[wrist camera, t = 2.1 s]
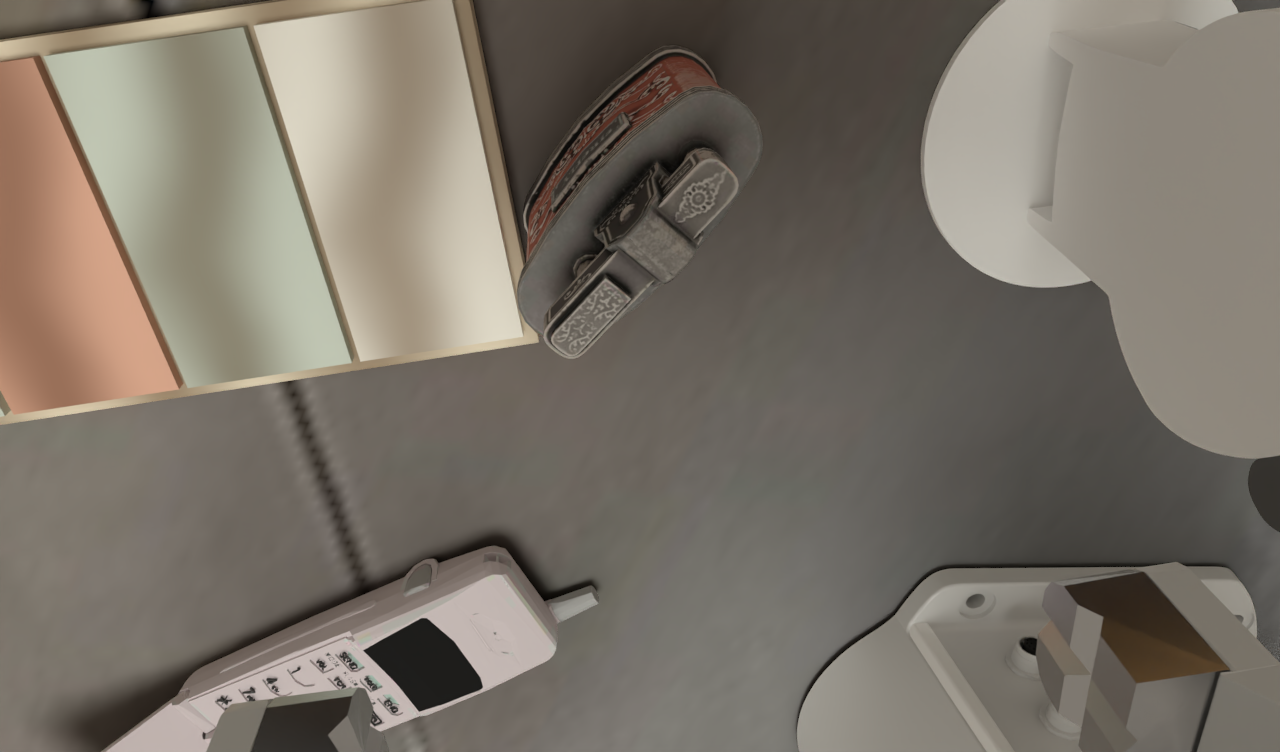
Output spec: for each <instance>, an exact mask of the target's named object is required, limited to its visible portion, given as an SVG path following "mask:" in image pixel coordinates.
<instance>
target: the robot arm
mask: <svg viewBox="0 0 1280 752" xmlns="http://www.w3.org/2000/svg"><path fill="white" fill-rule="evenodd" d="M372 713H373V705H372V703H371V701H370V698H369V696H368V694H367V691H366V689H365V688H360V687H356V688H348V689H340V690H332V691H324V692H316V693H308V694H300V695H292V696H284V697H276V698H274V699H266V700H258V701H250V702H243V703H235V704H231V705H230V706H229V707H228V708H227V709H226V710H225V711H224V713H223V714H222V715H221V716H220V719H219V721H218V724H217V726H216V729H215V731H214V733H213V736H212V738H211V741H210V743H209V746H208V748H207V751H206V752H389V748H388V745H387V742H386V740H385V737H384V734H383V733H381V732H380V731H378V730H376V729H375V728H373V727H372V726H370V723H371V718H372ZM797 743H798V748H799V752H1280V662H1279V661H1278V660H1277V659H1276V658H1275V657H1274V656H1273V655H1272V654H1271V653H1270V652H1269V651H1268V650H1267V649H1266V648H1265V647H1264V646H1263V645H1262V644H1261V643H1260V642H1259V641H1258V640H1257V620H1256V612H1255V609H1254V605H1253V602H1252V599H1251V597H1250V595H1249V593H1248V592H1247V590H1246V588H1245V587H1244V585H1243V584H1242V583H1241V581H1240V580H1239V579H1238V578H1237V576H1236V575H1235V574H1234V573H1233V571H1231V570H1230V569H1228V568H1225V567H1186V566H1184V565H1182V564H1180V563H1178V562H1172V563H1166V564H1159V565H1153V566H1147V567H1070V568H953V569H945V570H941V571H938V572H936V573H934V574H932V575H930V576H929V577H927V578H926V579H925V580H924V581H923V582H922V583H921V584H920V585H919V586H918V587H917V588H916V589H915V590H914V591H913V592H912V593H911V595H910V596H909V597H908V598H907V600H906V601H905V602H904V604H903V605H902V606H901V608H900V609H899V610H898V612H897V613H896V614H895V615H894V616H893V617H892V618H891V619H890V620H888V621H887V622H886V623H885V624H883V625H882V626H880V627H879V628H878V629H876V630H874V631H873V632H871V633H870V634H868V635H867V636H865V637H864V638H862V639H861V640H859V641H858V642H856V643H855V644H854V645H852V646H851V647H850V648H848V649H847V650H846V651H845V652H843V653H842V654H841V655H840V656H839V657H838V658H837V659H836V660H834V661H833V662H832V663H831V664H830V665H829V667H828V668H827V669H826V670H825V671H824V672H823V673H822V675H821V676H820V677H819V678H818V680H817V681H816V682H815V684H814V685H813V687H812V688H811V690H810V692H809V693H808V695H807V697H806V699H805V701H804V704H803V706H802V709H801V712H800V715H799V720H798V726H797Z"/></svg>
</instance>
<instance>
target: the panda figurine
mask: <svg viewBox="0 0 1280 752" xmlns="http://www.w3.org/2000/svg"><path fill="white" fill-rule="evenodd" d="M921 177H922V185H923V190H924V195H925V199H926V202H927V206H928V209H929V211H930V214H931V216H932V218H933V221H934V223H935V224H936V226H937V228H938V230H939V231H940V233H941V235H942V236H943V237H944V239H945V240H946V241H947V243H948V244H949V245H950V246H951V247H952V248H953V249H954V250H955V251H956V252H957V253H958V254H959V255H960V256H961V257H962V258H963V259H965V260H966V261H967V262H968V263H970V264H971V265H972V266H973V267H975V268H977V269H978V270H980V271H982V272H983V273H985V274H987V275H989V276H991V277H994V278H996V279H998V280H1001V281H1004V282H1008V283H1011V284H1016V285H1021V286H1027V287H1039V288H1042V287H1062V286H1070V285H1075V284H1080V283H1084V282H1088V281H1093V282H1094V283H1095V284H1096V285H1097V286H1099V287H1100V288H1101V289H1102V290H1103V291H1104V292H1105V293H1106V294H1107V295H1108V297H1109V302H1110V307H1111V313H1112V317H1113V322H1114V326H1115V330H1116V334H1117V337H1118V341H1119V344H1120V347H1121V350H1122V353H1123V356H1124V358H1125V361H1126V364H1127V366H1128V368H1129V371H1130V373H1131V375H1132V377H1133V379H1134V381H1135V383H1136V385H1137V387H1138V389H1139V391H1140V393H1141V395H1142V397H1143V398H1144V400H1145V402H1146V404H1147V405H1148V407H1149V408H1150V410H1151V411H1152V412H1153V414H1154V415H1155V416H1156V417H1157V418H1158V419H1159V420H1160V421H1161V422H1162V423H1163V424H1164V425H1165V426H1166V427H1167V428H1168V429H1170V430H1171V431H1172V432H1174V433H1175V434H1176V435H1178V436H1179V437H1181V438H1182V439H1184V440H1185V441H1187V442H1189V443H1191V444H1193V445H1195V446H1197V447H1200V448H1202V449H1205V450H1208V451H1211V452H1214V453H1217V454H1221V455H1226V456H1232V457H1238V458H1248V459H1257V458H1260V459H1257V460H1256V461H1255V462H1254V463H1253V464H1252V466H1251V468H1250V472H1249V477H1248V486H1249V491H1250V495H1251V498H1252V500H1253V502H1254V504H1255V506H1256V508H1257V510H1258V512H1259V513H1260V515H1261V516H1262V518H1263V519H1264V520H1265V521H1266V523H1268V524H1269V525H1270V526H1271V527H1272V528H1274V529H1275V530H1277V531H1279V532H1280V8H1273V9H1264V10H1255V11H1247V12H1241V13H1239V12H1238V10H1237V8H1236V6H1235V5H1234V3H1233V2H1232V0H1000V1H999V2H998V3H997V4H996V5H995V6H993V7H992V8H991V9H990V10H989V11H988V12H987V13H986V14H985V15H984V16H983V17H982V18H981V19H980V20H979V22H978V23H977V24H976V25H975V26H974V28H973V29H972V30H971V31H970V32H969V34H968V35H967V36H966V37H965V39H964V40H963V42H962V43H961V44H960V46H959V47H958V49H957V50H956V51H955V53H954V55H953V56H952V58H951V60H950V61H949V63H948V65H947V67H946V68H945V70H944V72H943V74H942V76H941V78H940V80H939V83H938V85H937V87H936V89H935V92H934V95H933V97H932V100H931V103H930V106H929V109H928V113H927V116H926V120H925V125H924V130H923V136H922V144H921Z"/></svg>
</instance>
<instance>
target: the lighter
mask: <svg viewBox="0 0 1280 752" xmlns="http://www.w3.org/2000/svg"><path fill="white" fill-rule="evenodd" d="M762 144H763V137H762V134H761V131H760V127H759V124H758V121H757V120H756V118H755V117H754V116H753V114H752V113H751V111H750V110H749V109H748V107H747V106H746V105H745V104H744V103H743V102H742V101H741V100H740V99H739V98H737V97H736V96H734V95H733V94H732V93H730V92H729V91H727V90H724V89H721V88H720V87H719V86H718V84H717V82H716V79H715V76H714V73H713V72H712V70H711V69H710V68H709V66H708V65H707V64H706V62H705V61H704V60H703V59H702V58H701V57H700V56H698V55H697V54H696V53H694V52H693V51H691V50H690V49H687V48H684V47H681V46H677V45H672V46H662V47H660V48H658V49H656V50H654V51H652V52H651V53H650V54H648V55H647V56H646V57H645V58H643V59H642V60H641V61H640V62H638V63H637V64H636V65H635V66H633V67H632V68H631V69H629V70H628V71H627V72H626V73H624V74H623V75H622V76H621V77H619V78H618V79H617V80H616V81H614V82H613V83H612V84H611V85H610V86H609V87H608V88H607V89H606V90H605V91H604V92H603V93H602V94H601V95H600V96H599V97H598V98H597V99H596V100H595V101H594V102H593V103H592V104H591V105H590V106H589V107H588V108H587V109H586V110H585V111H584V113H583V114H582V115H581V116H580V117H579V118H578V119H577V120H576V121H575V123H574V124H573V126H572V127H571V128H570V130H569V131H568V132H567V134H566V135H565V136H564V138H563V139H562V140H561V142H560V143H559V144H558V146H557V147H556V149H555V150H554V151H553V153H552V154H551V155H550V157H549V158H548V160H547V162H546V164H545V165H544V167H543V169H542V171H541V172H540V174H539V176H538V178H537V179H536V181H535V183H534V185H533V187H532V188H531V190H530V192H529V194H528V195H527V198H526V201H525V205H524V212H523V217H524V227H525V229H526V231H527V233H528V241H527V257H526V264H525V266H524V267H523V269H522V271H521V274H520V277H519V281H518V286H517V300H518V308H519V310H520V312H521V314H522V316H523V318H524V320H525V322H526V323H527V324H528V325H529V326H530V327H531V328H532V329H533V330H534V331H535V332H536V333H537V334H539V335H541V336H542V337H544V340H545V342H546V344H547V345H548V346H549V347H550V348H551V349H552V350H554V351H555V352H556V353H558V354H559V355H561V356H563V357H565V358H570V359H574V358H577V357H580V356H581V355H582V354H584V353H585V352H586V351H587V350H588V349H589V348H590V347H591V346H592V345H593V344H594V343H595V342H596V341H597V340H598V339H599V338H600V337H601V335H602V334H603V333H604V332H605V331H606V330H607V329H608V328H609V327H610V326H611V325H613V324H614V323H616V322H617V321H618V320H620V319H621V318H622V317H624V316H625V315H627V314H628V313H629V312H631V311H632V310H634V309H635V308H636V307H638V306H639V305H640V304H641V303H643V302H644V301H645V300H646V299H647V298H648V297H649V296H650V295H651V294H653V293H654V292H655V291H656V290H657V289H658V288H659V287H660V286H661V285H662V284H666V283H668V282H670V281H671V280H673V279H674V278H675V277H676V276H677V275H678V274H679V273H680V272H681V271H682V270H683V269H684V268H685V267H686V266H687V265H688V264H689V262H690V261H691V260H692V258H693V257H694V255H695V253H696V251H697V249H698V248H699V246H700V245H701V244H702V243H703V242H704V241H705V239H706V238H707V237H708V236H709V235H710V233H711V232H712V231H713V230H714V229H715V227H716V226H717V225H718V224H719V223H720V222H721V220H722V219H723V218H724V216H725V215H726V213H727V212H728V210H729V209H730V207H731V206H732V204H733V203H734V201H735V200H736V198H737V197H738V195H739V194H740V192H741V191H742V189H743V188H744V186H745V185H746V183H747V182H748V180H749V179H750V177H751V176H752V174H753V173H754V171H755V170H756V168H757V166H758V163H759V161H760V158H761V156H762Z"/></svg>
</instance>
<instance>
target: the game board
mask: <svg viewBox="0 0 1280 752" xmlns="http://www.w3.org/2000/svg"><path fill="white" fill-rule="evenodd" d="M525 264H526V263H525V258H524V253H523V248H522V243H521V238H520V233H519V228H518V223H517V218H516V213H515V208H514V203H513V198H512V193H511V188H510V183H509V178H508V174H507V169H506V164H505V159H504V154H503V149H502V144H501V139H500V134H499V129H498V124H497V119H496V114H495V109H494V104H493V99H492V94H491V89H490V84H489V79H488V75H487V70H486V65H485V60H484V55H483V50H482V45H481V40H480V35H479V30H478V25H477V20H476V15H475V10H474V5H473V0H271V1H264V2H257V3H250V4H243V5H236V6H229V7H222V8H216V9H209V10H202V11H195V12H188V13H181V14H174V15H167V16H160V17H154V18H147V19H140V20H133V21H126V22H119V23H112V24H105V25H98V26H91V27H85V28H78V29H71V30H64V31H57V32H50V33H43V34H36V35H29V36H23V37H16V38H9V39H2V40H0V425H3V424H10V423H16V422H23V421H29V420H36V419H42V418H49V417H55V416H62V415H68V414H75V413H81V412H88V411H94V410H101V409H107V408H114V407H120V406H127V405H134V404H140V403H147V402H153V401H160V400H166V399H173V398H179V397H186V396H192V395H199V394H205V393H212V392H218V391H225V390H231V389H238V388H244V387H251V386H257V385H264V384H271V383H277V382H284V381H290V380H297V379H303V378H310V377H316V376H323V375H329V374H336V373H342V372H349V371H355V370H362V369H368V368H375V367H381V366H388V365H394V364H401V363H408V362H414V361H421V360H427V359H434V358H440V357H447V356H453V355H460V354H466V353H473V352H479V351H486V350H492V349H499V348H505V347H512V346H518V345H525V344H531V343H538V342H539V334H537V333H536V332H535V331H534V330H533V329H532V328H531V327H530V326H529V325H528V324H527V323H526V322H525V320H524V318H523V316H522V314H521V312H520V310H519V308H518V300H517V286H518V281H519V277H520V274H521V271H522V269H523V267H524V266H525Z"/></svg>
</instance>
